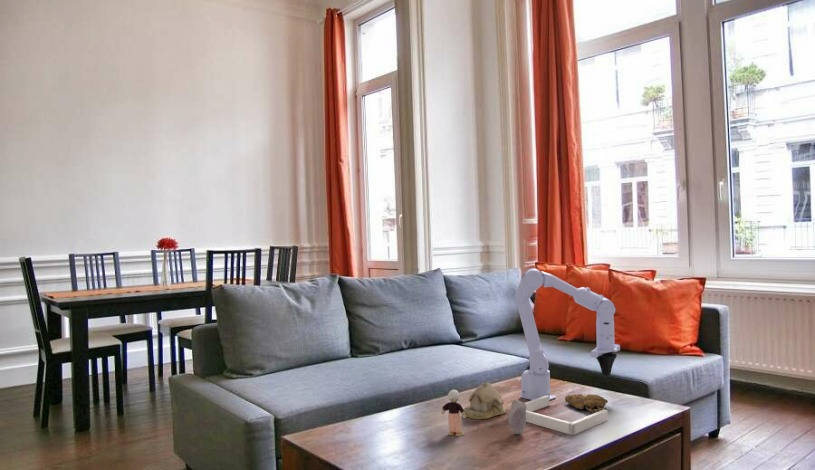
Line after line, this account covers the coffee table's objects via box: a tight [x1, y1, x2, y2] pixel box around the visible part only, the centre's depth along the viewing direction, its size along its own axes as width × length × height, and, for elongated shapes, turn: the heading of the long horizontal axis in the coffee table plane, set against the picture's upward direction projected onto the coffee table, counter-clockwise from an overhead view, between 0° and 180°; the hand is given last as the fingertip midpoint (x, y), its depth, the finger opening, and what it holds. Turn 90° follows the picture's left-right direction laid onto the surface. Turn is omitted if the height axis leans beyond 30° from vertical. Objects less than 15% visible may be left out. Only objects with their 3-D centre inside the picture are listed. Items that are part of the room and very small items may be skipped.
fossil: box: [507, 399, 527, 435], centre depth 170 cm, size 6×4×10 cm, turn 117°
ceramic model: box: [463, 381, 507, 420], centre depth 190 cm, size 14×11×10 cm
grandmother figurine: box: [440, 389, 467, 437], centre depth 172 cm, size 8×4×13 cm, turn 71°
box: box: [509, 396, 609, 436], centre depth 183 cm, size 22×18×3 cm
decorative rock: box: [564, 393, 609, 414], centre depth 193 cm, size 11×4×15 cm
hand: (606, 375), depth 200 cm, fingers closed
